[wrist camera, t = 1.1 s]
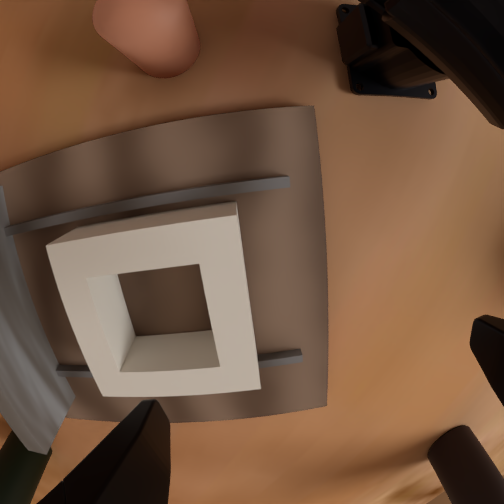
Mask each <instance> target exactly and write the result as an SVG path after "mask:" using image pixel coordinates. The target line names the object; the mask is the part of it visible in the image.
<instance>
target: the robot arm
mask: <svg viewBox="0 0 504 504" xmlns="http://www.w3.org/2000/svg"><path fill="white" fill-rule="evenodd" d="M358 1H359V2H361V3H360V4H359V5H349V4H341V5H339V7H338V8H337V10H336V12H337V17H338V21H339V26H338V27H337V34H338V39H339V44H340V50H341V55H342V61H343V63H344V64H345V65H347V70H348V76H349V83H350V89H351V91H352V92H353V93H354V94H355V95H370V96H393V97H409V98H421V99H434V98H435V97H436V95H437V91H436V84H435V82H437V81H441V80H445V79H449V78H450V79H451V80H452V81H453V82H454V83H455V84H456V85H457V86H458V88H459V89H460V90H461V91H462V92H463V93H464V94H465V95H466V96H467V97H468V98H469V99H470V101H471V102H472V103H473V104H474V105H475V106H476V107H477V108H478V110H479V111H480V112H481V113H482V114H483V116H484V117H485V118H486V119H487V120H488V122H489V123H490V124H492V125H494V126H496V127H499V128H501V129H504V0H358ZM342 9H344V10H346V11H347V13H344V12H343V11H342ZM356 84H359V85H360V86H361V90H358V89H357V88H356ZM428 90H430V91H431V95H430V94H429V92H428ZM470 348H471V350H472V352H473V354H474V355H475V357H476V359H477V361H478V363H479V365H480V366H481V368H482V370H483V372H484V374H485V376H486V378H487V380H488V382H489V383H490V385H491V387H492V389H493V390H494V392H495V394H496V395H497V397H498V398H499V400H500V401H501V403H502V405H503V406H504V319H501V318H497V317H494V316H490V315H482V316H480V317H478V318H476V319H475V320H474V322H473V326H472V331H471V337H470ZM170 474H171V458H170V422H169V419H168V417H167V415H166V413H165V412H164V410H163V408H162V406H161V404H160V403H159V401H158V400H156V399H147V400H142V401H141V402H140V403H139V404H138V405H137V406H136V407H135V408H134V409H133V410H132V411H131V412H130V413H129V414H128V415H127V416H126V417H125V418H124V419H123V420H122V421H121V422H120V423H119V424H118V425H117V426H116V427H115V428H114V429H113V430H112V431H111V432H110V433H109V434H108V435H107V436H106V437H105V438H104V439H103V440H102V441H101V442H100V443H99V444H98V445H97V446H96V447H95V448H94V449H93V450H92V451H91V452H90V453H89V454H88V455H87V456H86V457H85V458H84V459H83V460H82V461H81V462H80V463H79V464H78V465H77V466H76V467H75V468H74V469H73V470H72V471H71V472H70V473H69V474H68V475H67V476H66V477H65V478H64V479H63V481H61V482H60V483H59V484H58V485H57V486H56V487H55V488H54V489H53V490H51V491H50V492H49V493H48V494H47V495H46V496H45V497H44V498H43V499H42V500H40V501H39V502H38V503H37V504H168V496H169V486H170Z"/></svg>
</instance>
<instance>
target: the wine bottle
mask: <svg viewBox="0 0 504 504" xmlns="http://www.w3.org/2000/svg"><path fill="white" fill-rule="evenodd" d="M51 454H52V449H51V447H50V449H49V451H48V453H47V455H46V454H41V453H37V452H33V451H29V450H28V449H27V448H26V447H25V446H24V444H23V443H22V442H21V441H20V439H19V438H18V437H17V435H16V434H15V433H14V431H13V430H12V431H11V433H10V434H9V436H8V438H7V439H6V441H5V443H4V445H3V446H2V448H1V450H0V504H30V503H31V501H32V498H33V496H34V493H35V491H36V488H37V486H38V484H39V481H40V479H41V477H42V474H43V472H44V470H45V468H46V465H47V463H48V461H49V459H50V456H51Z"/></svg>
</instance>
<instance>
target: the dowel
mask: <svg viewBox="0 0 504 504" xmlns="http://www.w3.org/2000/svg"><path fill="white" fill-rule="evenodd" d="M92 20H93V25H94V28H95V30H96V31H97V33H98V34H99V35H100V36H101V37H102V38H104V39H105V40H106V41H107V42H109V43H110V44H111V45H112V46H114V47H115V48H116V49H117V50H119V51H120V52H121V53H122V54H124V55H125V56H126V57H127V58H128V59H130V60H131V61H132V62H133V63H135V64H136V65H137V66H138V67H139V68H141V69H142V70H143V71H144V72H146V73H147V74H149V75H150V76H153V77H157V78H171V77H174V76H177V75H179V74H181V73H183V72H185V71H186V70H188V69H189V68H190V67H191V66H192V65H193V64H194V62H195V61H196V59H197V57H198V55H199V51H200V40H199V37H198V33H197V30H196V27H195V24H194V21H193V18H192V15H191V12H190V9H189V6H188V3H187V0H97V1H96V3H95V6H94V9H93V15H92Z"/></svg>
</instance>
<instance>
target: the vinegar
mask: <svg viewBox="0 0 504 504" xmlns="http://www.w3.org/2000/svg"><path fill="white" fill-rule="evenodd" d="M428 459H429V461H430V463H431V465H432V466H433V468H434V470H435V472H436V474H437V476H438V478H439V480H440V482H441V484H442V485H443V487H444V489H445V491H446V493H447V495H448V497H449V499H450V501H451V503H452V504H504V478H503V477H502V475H501V474H500V472H499V471H498V469H497V467H496V466H495V464H494V463H493V461H492V460H491V458H490V457H489V455H488V454H487V452H486V451H485V449H484V448H483V446H482V445H481V443H480V442H479V441H478V439H477V438H476V436H475V435H474V433H473V432H472V431H471V429H470V428H469V427H468V426H459V427H457V428H454V429H452V430H451V431H449V432H447V433H446V434H444V435H443V436H442V437H440V438H439V439H438V440H437V441H436V442H435V443H434V444H433V445H432V447H431V448H430V450H429V452H428Z"/></svg>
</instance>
